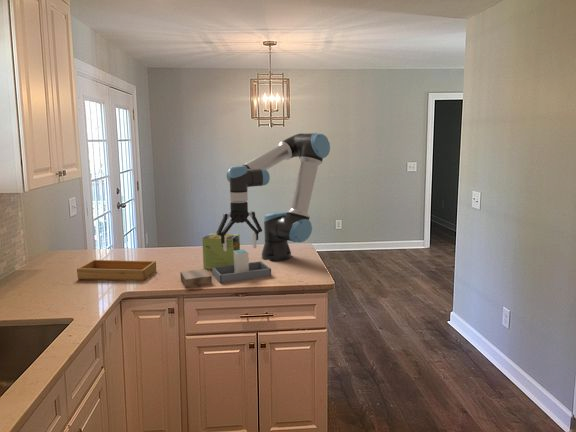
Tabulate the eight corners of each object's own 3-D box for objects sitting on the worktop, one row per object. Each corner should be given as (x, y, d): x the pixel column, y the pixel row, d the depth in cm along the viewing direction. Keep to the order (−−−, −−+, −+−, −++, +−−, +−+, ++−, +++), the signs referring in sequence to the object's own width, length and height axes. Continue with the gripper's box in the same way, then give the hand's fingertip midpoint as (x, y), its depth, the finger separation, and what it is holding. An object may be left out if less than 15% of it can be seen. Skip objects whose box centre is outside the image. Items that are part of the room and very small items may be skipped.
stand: (205, 277, 217) (205, 268, 216) (211, 285, 206) (211, 276, 205) (180, 280, 213) (180, 271, 212) (185, 288, 202) (185, 279, 201)
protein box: (234, 271, 226) (233, 238, 223) (203, 269, 229) (201, 237, 226) (241, 265, 236) (240, 233, 233) (211, 263, 239) (209, 233, 236)
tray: (156, 271, 228) (155, 260, 227) (144, 281, 213) (143, 269, 212) (94, 271, 231) (93, 259, 230) (77, 281, 216) (76, 268, 215)
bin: (261, 269, 227) (261, 261, 227) (271, 277, 215) (271, 268, 214) (212, 275, 219) (212, 267, 218) (220, 284, 206) (219, 275, 206)
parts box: (245, 272, 220) (244, 249, 218) (249, 276, 215) (248, 252, 213) (234, 274, 219) (233, 250, 217) (238, 277, 213) (237, 253, 211)
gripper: (263, 198, 219) (263, 244, 222) (208, 202, 210) (210, 249, 213) (268, 201, 212) (269, 248, 216) (212, 204, 203) (214, 253, 206)
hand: (240, 249), depth 214 cm, fingers open, 13 cm apart
